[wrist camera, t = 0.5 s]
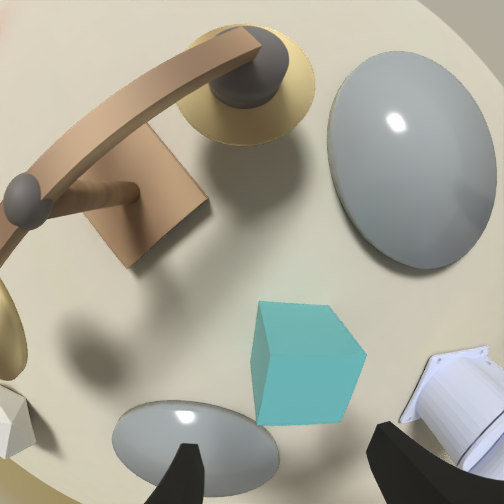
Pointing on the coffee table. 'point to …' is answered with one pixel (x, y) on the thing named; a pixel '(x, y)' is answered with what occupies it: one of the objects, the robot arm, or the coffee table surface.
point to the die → (14, 424)
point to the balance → (153, 150)
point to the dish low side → (412, 159)
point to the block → (302, 364)
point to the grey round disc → (197, 432)
